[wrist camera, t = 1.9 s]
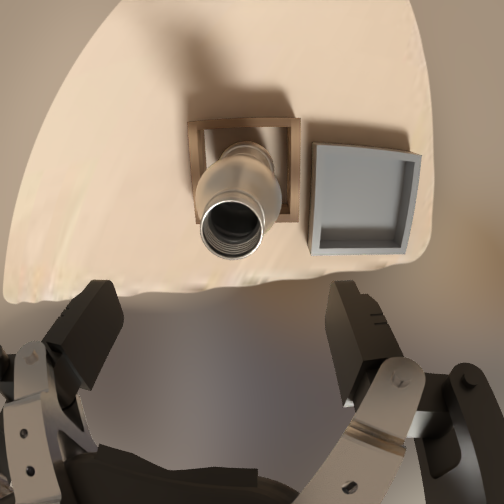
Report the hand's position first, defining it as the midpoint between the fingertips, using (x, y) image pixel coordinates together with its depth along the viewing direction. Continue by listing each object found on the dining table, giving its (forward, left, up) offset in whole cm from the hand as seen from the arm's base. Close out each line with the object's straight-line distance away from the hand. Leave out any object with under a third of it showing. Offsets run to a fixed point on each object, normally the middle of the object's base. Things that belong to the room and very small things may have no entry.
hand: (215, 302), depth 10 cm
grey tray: (+4, +15, -26) cm, 31 cm away
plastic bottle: (0, 0, -27) cm, 26 cm away
